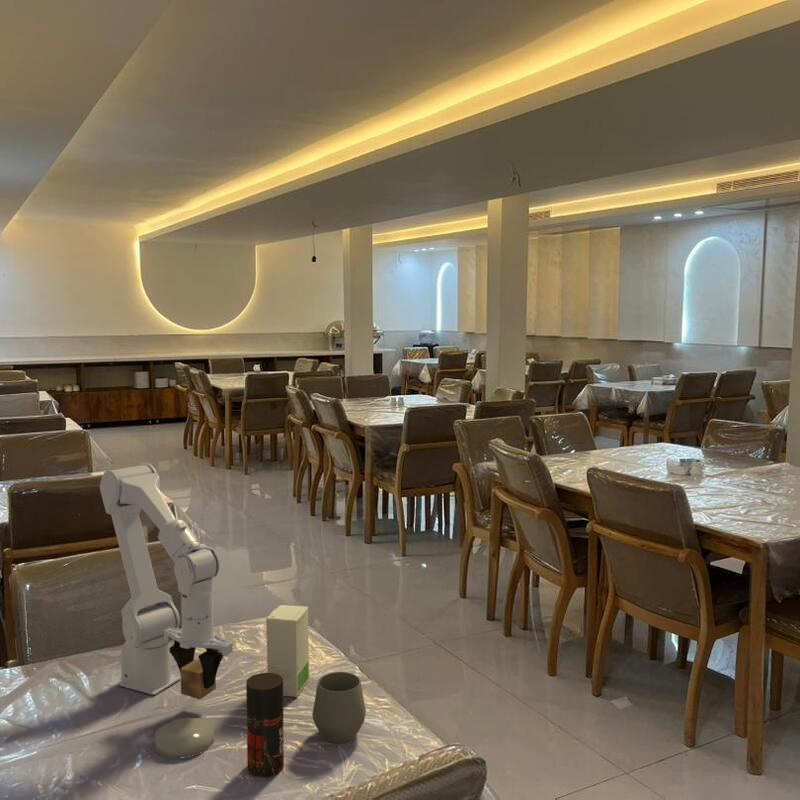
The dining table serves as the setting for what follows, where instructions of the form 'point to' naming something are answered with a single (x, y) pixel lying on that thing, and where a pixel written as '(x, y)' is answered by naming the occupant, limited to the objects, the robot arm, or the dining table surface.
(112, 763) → the dining table surface
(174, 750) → the khaki round plate
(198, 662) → the walnut block
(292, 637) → the skincare box
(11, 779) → the dining table surface
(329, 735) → the cup
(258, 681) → the deodorant
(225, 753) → the dining table surface
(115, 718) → the dining table surface
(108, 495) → the robot arm
